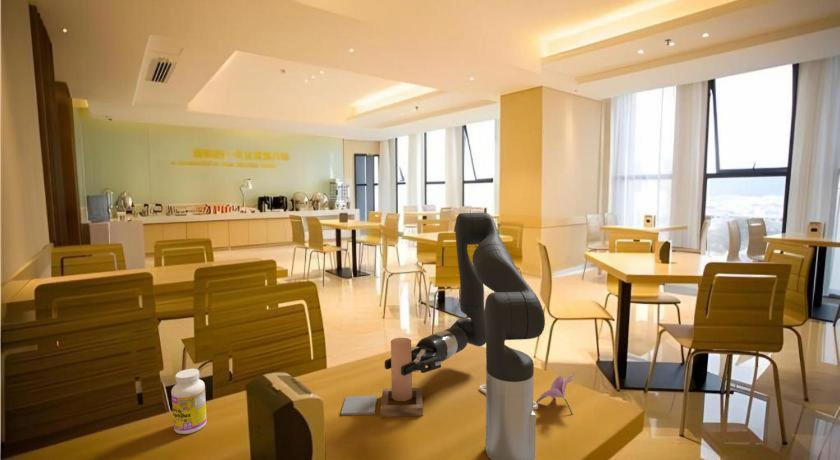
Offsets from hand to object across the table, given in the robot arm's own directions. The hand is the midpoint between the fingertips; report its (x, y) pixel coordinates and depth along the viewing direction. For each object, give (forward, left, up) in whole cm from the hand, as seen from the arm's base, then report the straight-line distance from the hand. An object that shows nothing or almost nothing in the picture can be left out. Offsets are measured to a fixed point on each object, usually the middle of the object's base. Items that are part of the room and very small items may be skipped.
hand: (394, 368), depth 101 cm
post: (-2, -2, -8) cm, 8 cm away
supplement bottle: (+46, +5, -11) cm, 48 cm away
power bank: (-29, -5, -11) cm, 31 cm away
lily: (-40, 0, -11) cm, 41 cm away
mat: (+9, -2, -11) cm, 14 cm away
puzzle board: (-2, -2, -11) cm, 11 cm away
